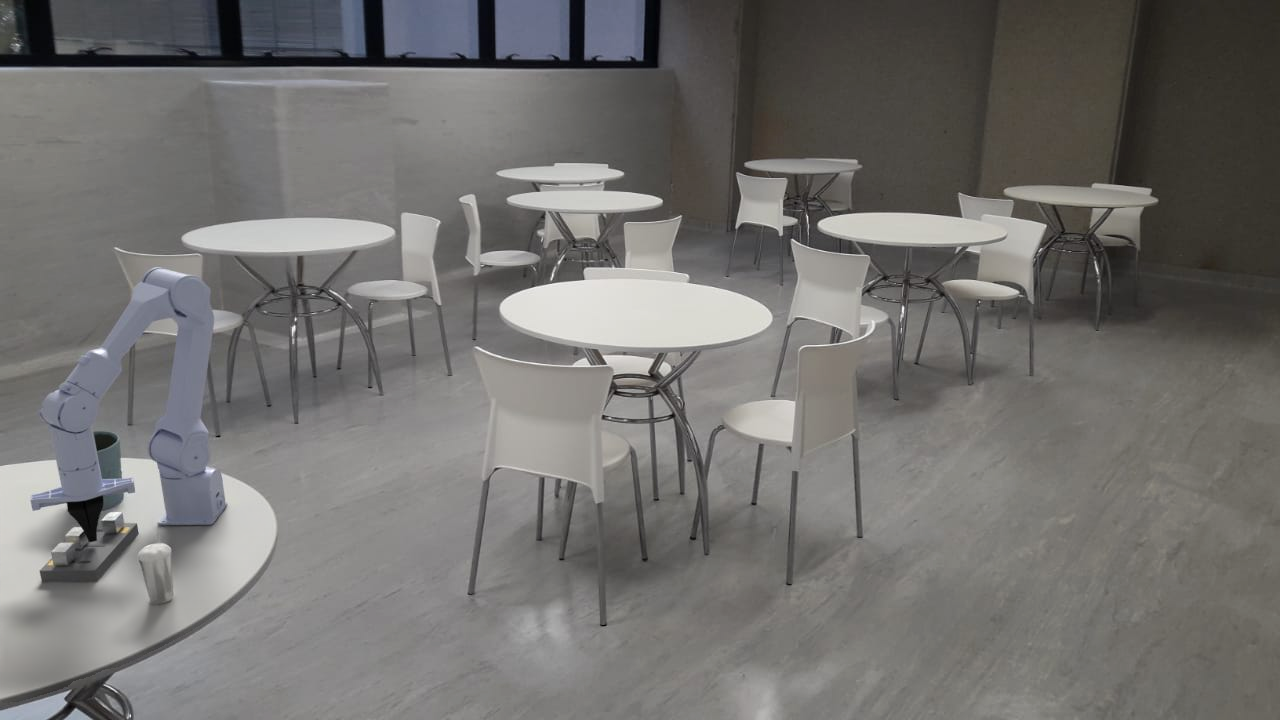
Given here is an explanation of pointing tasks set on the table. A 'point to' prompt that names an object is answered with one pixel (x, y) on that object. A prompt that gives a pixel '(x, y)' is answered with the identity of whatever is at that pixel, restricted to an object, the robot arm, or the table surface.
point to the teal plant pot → (109, 462)
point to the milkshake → (157, 571)
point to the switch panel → (92, 557)
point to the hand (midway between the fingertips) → (92, 538)
